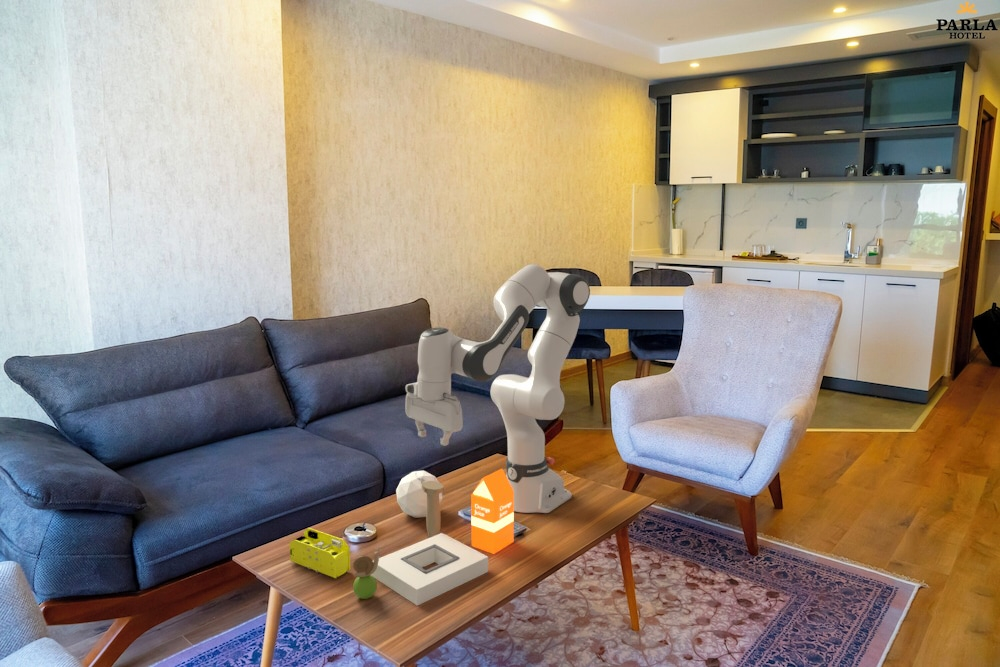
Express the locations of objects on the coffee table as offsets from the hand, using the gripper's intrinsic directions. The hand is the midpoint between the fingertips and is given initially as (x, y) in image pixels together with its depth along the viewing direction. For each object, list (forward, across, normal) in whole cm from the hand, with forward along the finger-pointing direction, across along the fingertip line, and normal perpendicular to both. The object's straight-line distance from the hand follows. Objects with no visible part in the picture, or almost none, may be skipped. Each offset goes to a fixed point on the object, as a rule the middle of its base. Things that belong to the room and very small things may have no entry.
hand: (433, 440), depth 193 cm
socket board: (+28, -15, +12) cm, 34 cm away
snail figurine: (+29, -13, +29) cm, 43 cm away
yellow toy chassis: (+29, +7, +30) cm, 42 cm away
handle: (+28, 0, -1) cm, 28 cm away
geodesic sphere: (+28, +14, -7) cm, 32 cm away
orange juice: (+27, -14, -10) cm, 32 cm away
